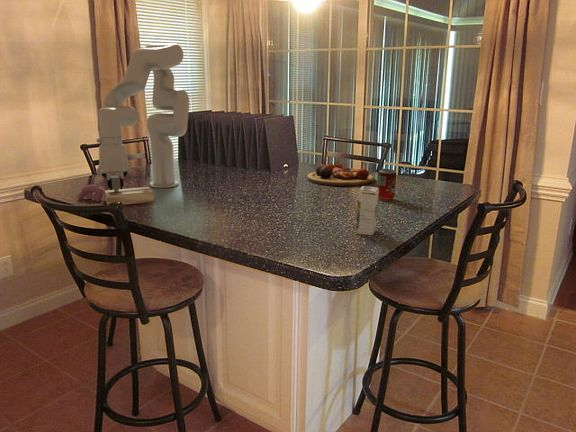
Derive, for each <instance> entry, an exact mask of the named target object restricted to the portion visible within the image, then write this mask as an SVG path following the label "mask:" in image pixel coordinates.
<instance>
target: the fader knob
mask: <svg viewBox="0 0 576 432" xmlns="http://www.w3.org/2000/svg"><path fill="white" fill-rule="evenodd" d="M110 178H111V181H112V190H114V192H118V191H119V189H120V188H121V185H120V175H110Z"/></svg>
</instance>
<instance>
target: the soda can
mask: <svg viewBox="0 0 576 432" xmlns="http://www.w3.org/2000/svg"><path fill="white" fill-rule="evenodd" d="M397 174H398V173H397V171H396V170H395V169H392V168H381V169H380V170H378V175H377V176H378V178H377V188H379V193H378V201H380V202H392V201H393V199H394V198H395V195H396V184H397Z"/></svg>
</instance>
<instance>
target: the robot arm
mask: <svg viewBox="0 0 576 432" xmlns="http://www.w3.org/2000/svg"><path fill="white" fill-rule="evenodd" d="M183 60H184V50H183V49H182V47H181V46H180V45H179V44H177V43H151V44H147V45H146V46H144V47H141V48H140V47H139V48H137V49H135V50H134V51H133V52H132V55H131V56H130V60H129V63H128V66H127V68H126V71H125V74H124V77H123V78H122V80H120V82H119V83H117V84H116V85H115V86H114V87H113V88H112V89H111V90H110V91H109V92H108V93H107V95H106V97H105V98H104V101H103V104H102V107H100V108H99V109H97V110H98V111H97V115H98V125H99V134H100V137H99V138H96V143H99V144H100V145H99V146H98V147H99V148H98V162H99V163H98V167H97V168H96V171H95V173H96V174H97V175H99V176H102V177H103V178H104V179H106V180H107V181H106V183H107V188H108V189H109V190H113V189H112V181H111V178H110V176H111V173H119V177H120V185H121V188H119V189H123V188H124V186H125V184H124V179H125V177H126V176H127V175H128V174H130V173H131V172H133V169H132V167H131V165H130V164H129V160H128V153H127V147H126V145H125V144H124V143H123V135H122V127H132V126H134V125H136V124H138V122H139V119H140V114H139V111H138V110H137V109H136V108H135V107H133V106H129V105H121V104H122V103H123V102H124V101H125V100H126V99H128V98H130V97H132V96H135V95H137V94H138V93H141V92H142V91H144V90H145V89H146V85H147V83H148V80H149V77H150V74H151V72H152V73H153V84H152V85H153V86H152V87H153V89H152V97H151V98H152V101H151V102H152V106H153V108H154V109H155V110H159V111H165V112H166V111H168V112H169V111H170V112H172V113H162V112H161V113H160V112H159V113H156V112H155V113H152V114H150V115H149V116H148V117H147V118H146V128H147V132H148V136H149V137H148V138H149V142H150V143H149V144H150V153H151V167H152V170H151V171H152V181H150V182H149V187H150V188H151V187H152V188H155V189H167V188H169V189H170V188H174V187H178V186H179V181H178V180H176V173H175V155H174V154H175V153H174V144H173V142H172V140H171V137H174V138H175V137H179V138H180V137H183V136H184V135H186V133H187V131H188V121H189V113H190V111H189V110H190V97H189V94H188V93H187V91H186V90H185V89H183V88H179V87H175V76H174V73H173V71H172V69H171V68H175V67H177V66H179V65H180V64H181V63H182V61H183Z"/></svg>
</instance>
